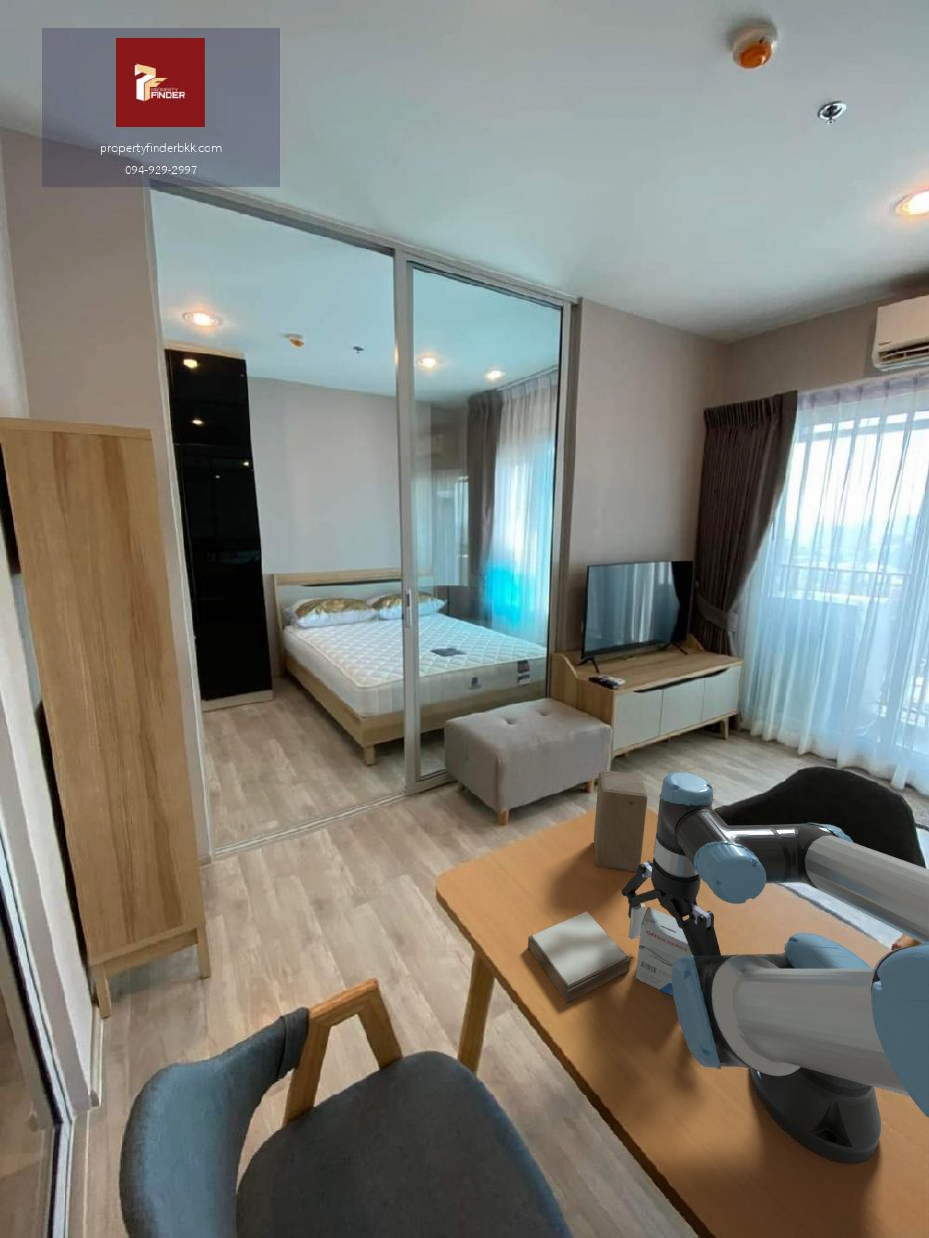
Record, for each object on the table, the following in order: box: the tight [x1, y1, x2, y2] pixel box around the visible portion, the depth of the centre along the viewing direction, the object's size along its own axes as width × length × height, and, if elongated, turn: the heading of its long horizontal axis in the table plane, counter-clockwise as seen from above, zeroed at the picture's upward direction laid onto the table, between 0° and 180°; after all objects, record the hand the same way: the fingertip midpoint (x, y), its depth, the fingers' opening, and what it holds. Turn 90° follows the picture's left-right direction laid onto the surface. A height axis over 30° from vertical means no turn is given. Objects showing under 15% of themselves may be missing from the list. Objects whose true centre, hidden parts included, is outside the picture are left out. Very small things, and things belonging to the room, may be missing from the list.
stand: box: [527, 910, 632, 1004], centre depth 91 cm, size 12×14×3 cm
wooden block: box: [593, 770, 648, 873], centre depth 116 cm, size 10×10×20 cm
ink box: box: [635, 906, 692, 998], centre depth 86 cm, size 8×5×12 cm, turn 58°
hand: (663, 965), depth 87 cm, fingers open, 13 cm apart
